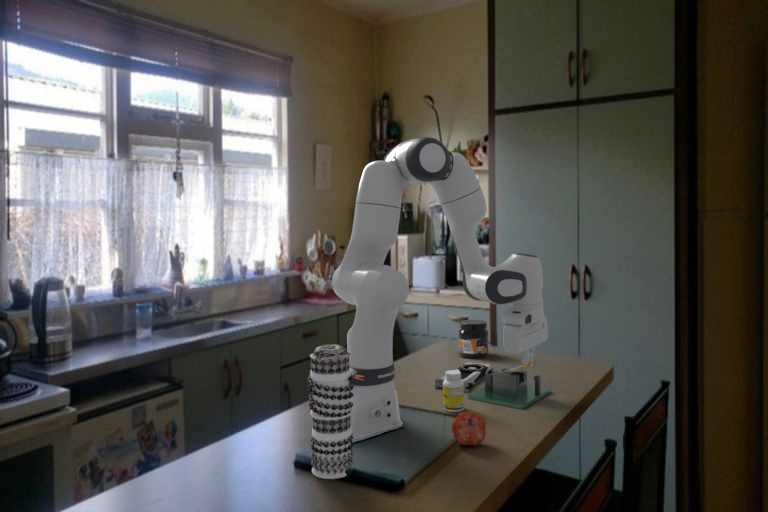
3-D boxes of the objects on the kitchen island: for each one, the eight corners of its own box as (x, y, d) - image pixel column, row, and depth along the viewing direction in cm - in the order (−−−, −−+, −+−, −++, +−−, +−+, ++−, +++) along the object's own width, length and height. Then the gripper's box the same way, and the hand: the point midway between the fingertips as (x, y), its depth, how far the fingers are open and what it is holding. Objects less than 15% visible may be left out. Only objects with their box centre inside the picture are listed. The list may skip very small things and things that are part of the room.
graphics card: (434, 379, 179) (466, 359, 201) (435, 390, 179) (466, 370, 201) (467, 383, 174) (496, 363, 196) (467, 394, 175) (496, 373, 196)
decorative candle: (330, 457, 131) (327, 340, 129) (364, 467, 126) (362, 345, 124) (300, 472, 124) (296, 348, 122) (335, 483, 118) (332, 354, 116)
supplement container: (464, 360, 212) (463, 325, 211) (454, 353, 223) (454, 320, 222) (493, 358, 214) (493, 323, 214) (482, 351, 225) (482, 318, 224)
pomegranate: (450, 448, 140) (447, 434, 132) (456, 417, 144) (453, 402, 136) (483, 455, 138) (482, 441, 130) (488, 423, 142) (487, 408, 134)
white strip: (530, 368, 166) (528, 363, 166) (488, 380, 174) (486, 375, 174) (534, 366, 168) (533, 361, 168) (493, 378, 176) (491, 373, 176)
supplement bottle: (442, 406, 164) (442, 369, 163) (463, 405, 163) (462, 369, 163) (443, 412, 158) (443, 374, 157) (465, 412, 158) (464, 374, 157)
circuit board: (522, 409, 160) (522, 384, 159) (468, 398, 170) (468, 375, 169) (550, 392, 174) (550, 369, 173) (499, 383, 184) (499, 361, 183)
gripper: (532, 306, 177) (533, 353, 178) (498, 318, 161) (499, 370, 162) (553, 307, 173) (554, 356, 174) (520, 320, 157) (521, 373, 158)
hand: (527, 363), depth 168 cm, fingers closed, pressing on white strip
